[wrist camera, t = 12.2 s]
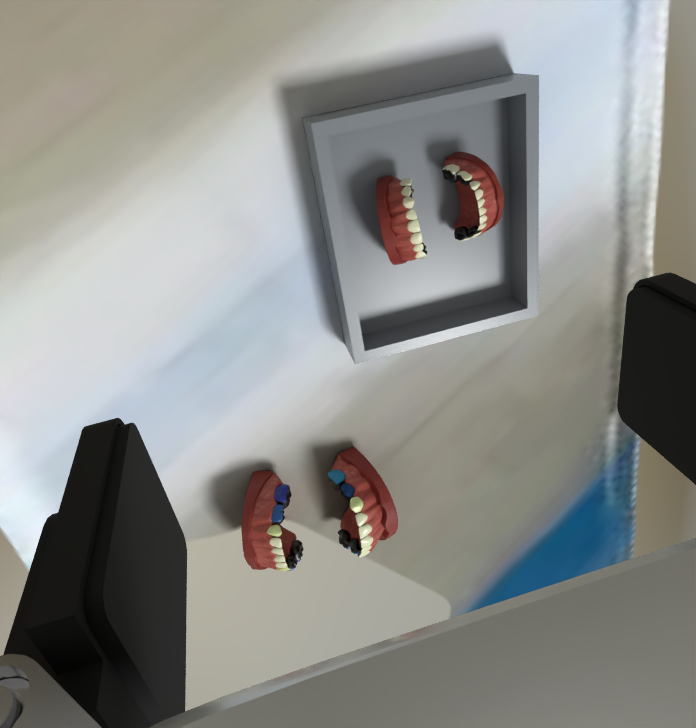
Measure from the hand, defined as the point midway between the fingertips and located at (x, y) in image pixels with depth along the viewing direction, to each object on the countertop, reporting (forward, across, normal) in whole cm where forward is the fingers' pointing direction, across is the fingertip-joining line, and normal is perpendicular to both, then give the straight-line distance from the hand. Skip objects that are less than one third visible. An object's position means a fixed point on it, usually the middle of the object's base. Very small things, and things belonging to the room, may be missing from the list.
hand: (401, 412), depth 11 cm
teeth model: (+29, +2, +27) cm, 39 cm away
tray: (+28, -10, +6) cm, 31 cm away
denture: (+28, -10, +5) cm, 30 cm away
